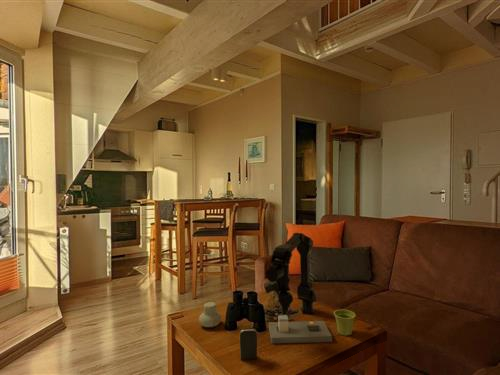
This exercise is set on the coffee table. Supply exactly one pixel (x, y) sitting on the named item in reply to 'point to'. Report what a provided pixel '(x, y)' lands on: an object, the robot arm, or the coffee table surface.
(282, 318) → the plug
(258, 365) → the coffee table surface
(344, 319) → the plant pot
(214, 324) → the air freshener
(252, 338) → the battery charger
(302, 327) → the panel board
